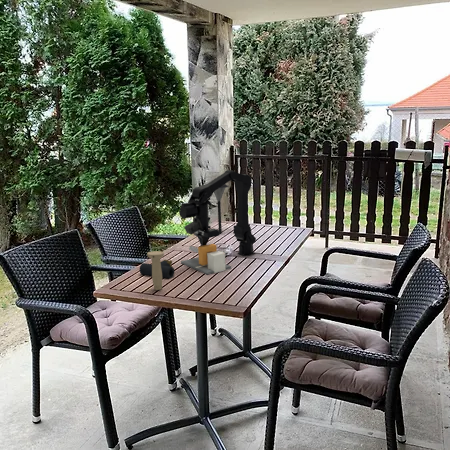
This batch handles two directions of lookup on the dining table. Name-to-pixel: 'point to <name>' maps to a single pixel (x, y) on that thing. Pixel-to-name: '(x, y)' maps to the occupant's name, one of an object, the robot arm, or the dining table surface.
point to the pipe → (194, 249)
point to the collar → (205, 253)
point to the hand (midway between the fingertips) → (203, 248)
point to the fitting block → (216, 261)
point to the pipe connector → (165, 267)
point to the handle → (156, 268)
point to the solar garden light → (219, 204)
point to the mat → (200, 266)
